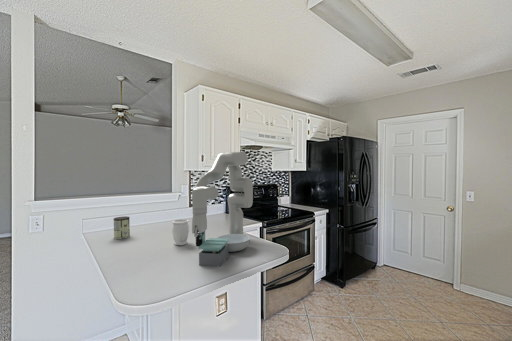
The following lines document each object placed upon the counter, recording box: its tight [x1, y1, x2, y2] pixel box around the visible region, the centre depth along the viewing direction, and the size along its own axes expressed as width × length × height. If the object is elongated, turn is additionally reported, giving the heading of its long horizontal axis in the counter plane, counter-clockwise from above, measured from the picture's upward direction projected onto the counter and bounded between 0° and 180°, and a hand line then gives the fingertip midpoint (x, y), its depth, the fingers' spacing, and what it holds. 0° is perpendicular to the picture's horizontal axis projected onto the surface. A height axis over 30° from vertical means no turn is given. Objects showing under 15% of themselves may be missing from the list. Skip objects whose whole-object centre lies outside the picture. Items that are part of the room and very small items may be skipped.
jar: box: [171, 219, 190, 246], centre depth 160 cm, size 11×10×15 cm
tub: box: [198, 245, 229, 267], centre depth 130 cm, size 15×11×6 cm
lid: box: [197, 233, 229, 252], centre depth 130 cm, size 16×16×7 cm
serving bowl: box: [216, 233, 251, 253], centre depth 147 cm, size 21×21×7 cm
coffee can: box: [113, 215, 131, 240], centre depth 179 cm, size 10×10×14 cm
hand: (200, 244), depth 131 cm, fingers closed on lid, 3 cm apart
